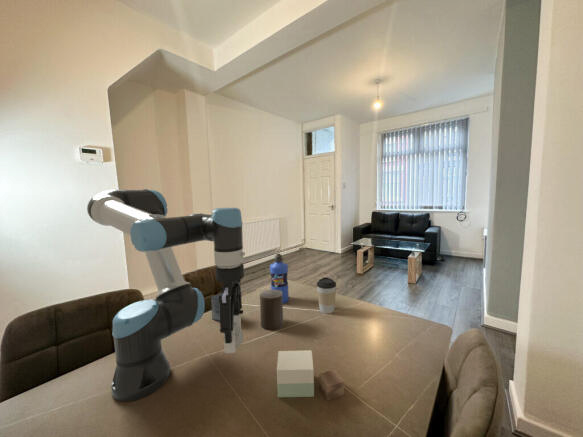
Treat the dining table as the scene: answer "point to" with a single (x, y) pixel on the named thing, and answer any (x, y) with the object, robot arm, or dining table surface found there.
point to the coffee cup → (326, 294)
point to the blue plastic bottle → (280, 277)
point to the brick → (331, 384)
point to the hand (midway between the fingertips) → (233, 343)
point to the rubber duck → (238, 335)
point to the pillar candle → (271, 309)
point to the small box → (215, 307)
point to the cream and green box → (295, 374)
